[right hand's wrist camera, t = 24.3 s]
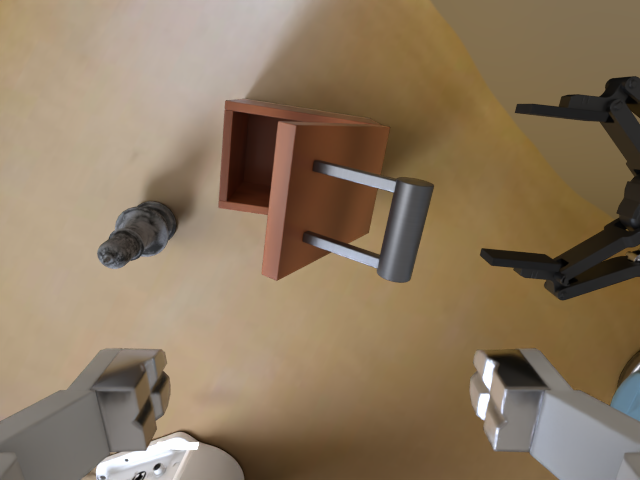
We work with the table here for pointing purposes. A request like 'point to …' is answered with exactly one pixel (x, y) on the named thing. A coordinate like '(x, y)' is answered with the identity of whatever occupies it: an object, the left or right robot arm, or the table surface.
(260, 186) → the chest
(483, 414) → the right robot arm
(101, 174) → the table surface
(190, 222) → the table surface
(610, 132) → the left robot arm
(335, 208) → the lid
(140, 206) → the grey chess piece
